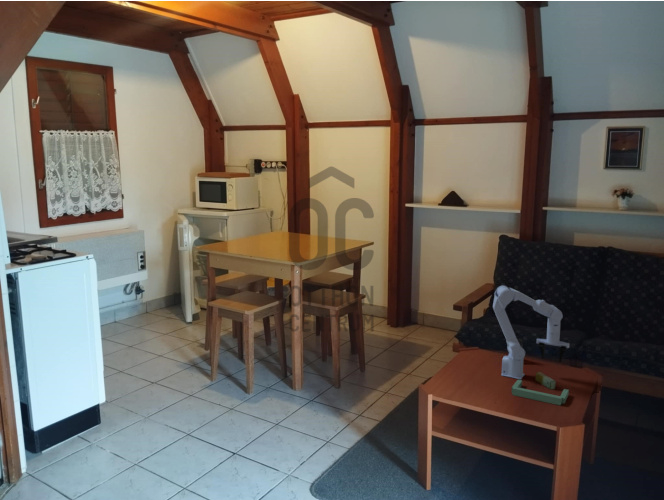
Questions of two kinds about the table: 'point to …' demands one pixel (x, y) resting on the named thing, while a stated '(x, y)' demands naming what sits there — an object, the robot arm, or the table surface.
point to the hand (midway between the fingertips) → (551, 359)
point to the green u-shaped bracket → (539, 394)
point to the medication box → (545, 380)
